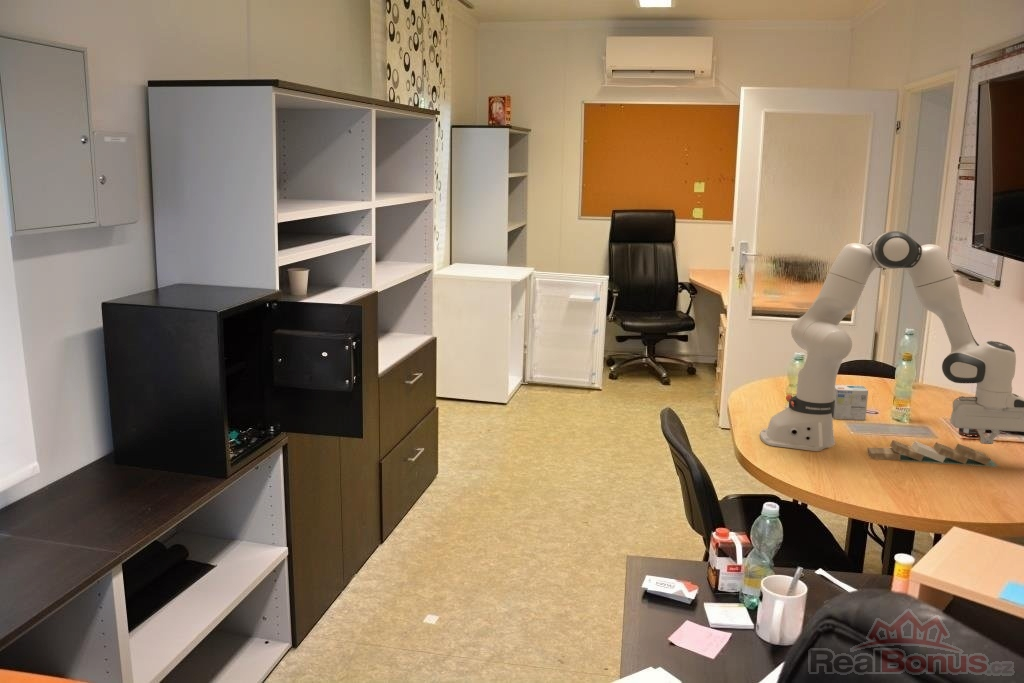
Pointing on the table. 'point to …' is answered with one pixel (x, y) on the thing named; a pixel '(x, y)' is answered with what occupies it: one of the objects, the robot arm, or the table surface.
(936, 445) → the domino
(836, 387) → the light bulb box
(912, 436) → the table surface
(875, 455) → the domino
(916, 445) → the domino
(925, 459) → the felt runner
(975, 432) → the supplement bottle
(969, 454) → the domino
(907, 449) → the domino
